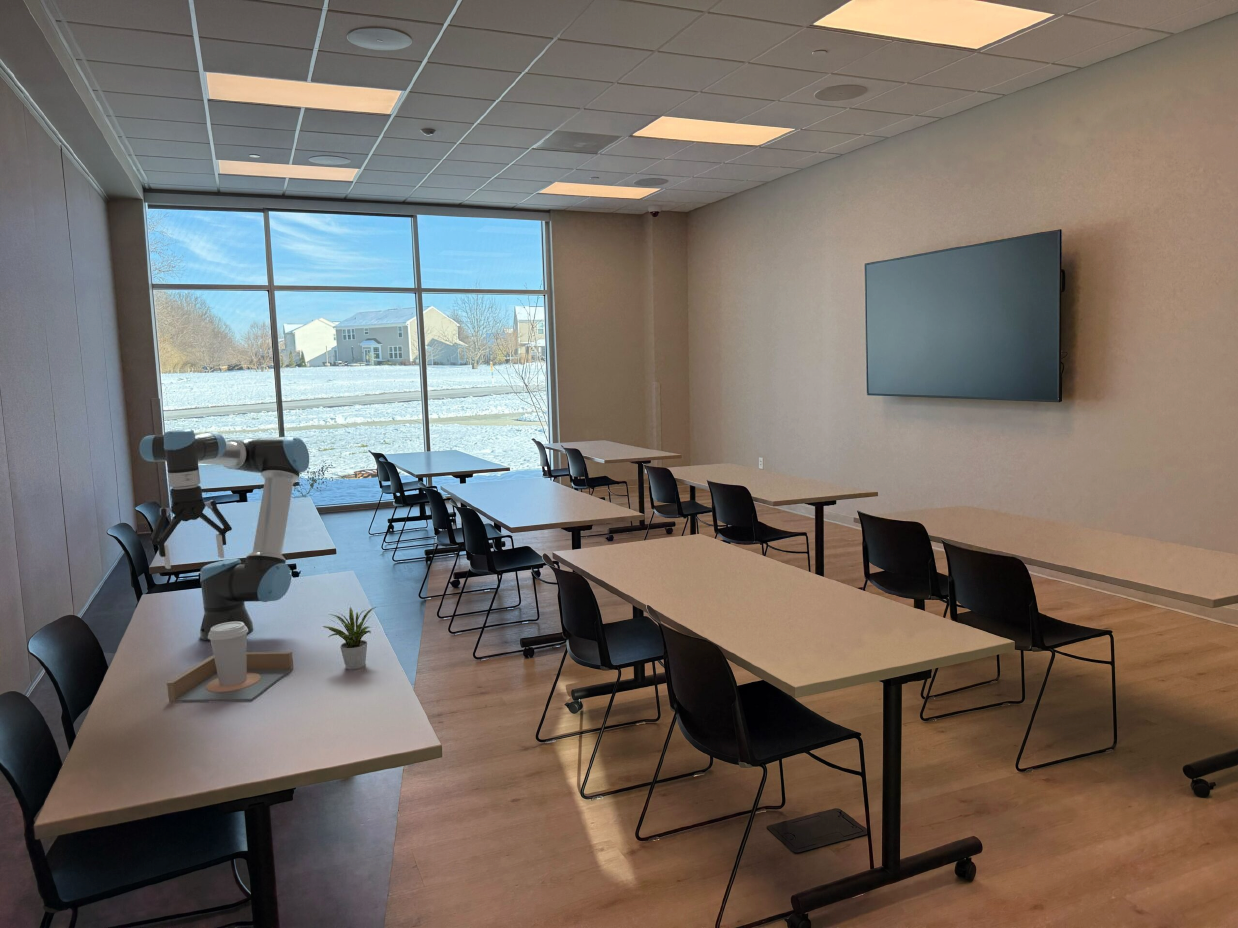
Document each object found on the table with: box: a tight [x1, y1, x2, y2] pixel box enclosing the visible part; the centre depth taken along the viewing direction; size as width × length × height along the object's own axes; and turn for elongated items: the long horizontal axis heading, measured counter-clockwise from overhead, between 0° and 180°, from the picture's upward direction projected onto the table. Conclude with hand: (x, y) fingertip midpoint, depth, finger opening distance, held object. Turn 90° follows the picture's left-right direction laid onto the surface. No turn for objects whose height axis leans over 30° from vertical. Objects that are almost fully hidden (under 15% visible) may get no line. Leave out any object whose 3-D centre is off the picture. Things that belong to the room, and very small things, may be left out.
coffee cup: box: [208, 622, 248, 686], centre depth 212 cm, size 10×10×15 cm
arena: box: [166, 651, 294, 703], centre depth 213 cm, size 22×22×5 cm
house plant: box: [322, 606, 377, 670], centre depth 223 cm, size 14×14×16 cm
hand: (195, 562), depth 224 cm, fingers open, 13 cm apart
